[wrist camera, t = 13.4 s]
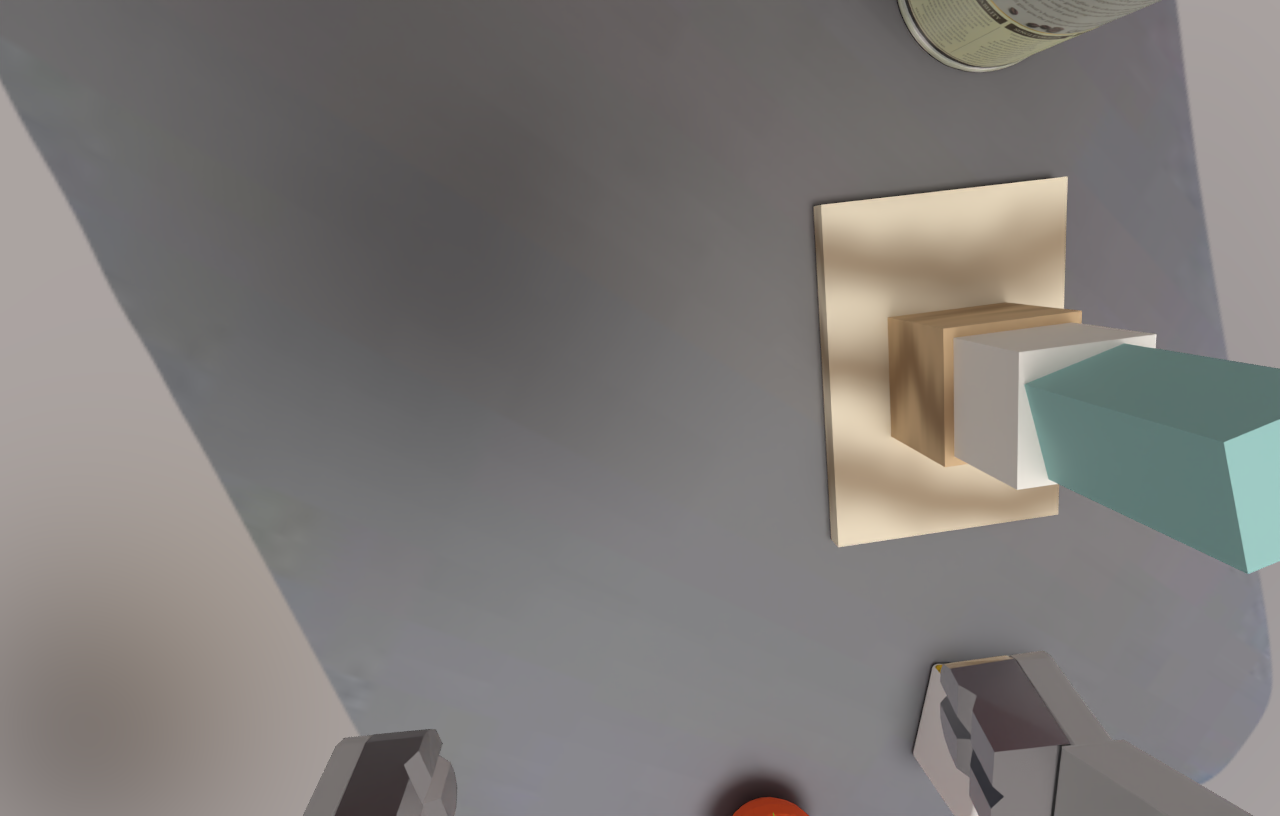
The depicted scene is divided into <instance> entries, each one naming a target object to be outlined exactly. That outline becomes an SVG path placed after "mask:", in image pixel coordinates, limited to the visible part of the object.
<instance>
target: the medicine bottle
mask: <svg viewBox="0 0 1280 816" xmlns="http://www.w3.org/2000/svg"><path fill="white" fill-rule="evenodd" d="M942 665H943V664H935V665H934V666H933V667H932V672H931V676H930V680H929V685H928V689H927V694H926V698H925V702H924V707H923V711H922V716H921V720H920V724H919V729H918V733H917V738H916V742H915V747H914V751H913V754H914V757H915V758H916V760H917V761H918V763H919V764H920V766H921V767H922V769H923V770H924V772H925V773H926V775H927V776H928V778H929V779H930V780H931V782H932V783H933V785H934V786H935V788H936V789H937V791H938V792H939V794H940V795H941V797H942V798H943V800H944V801H945V802H946V804H947V805H948V807H949V808H950V810H951V811H952V813H953V814H954V816H978V813H977V811H976V809H975V807H974V805H973V803H972V801H971V799H970V796H969V781H970V778H969V777H968V776H967V775H965V774H964V773H962V772H961V771H960V770H958V769H957V768H956V766H955V764H954V762H953V759H952V757H951V755H950V753H949V750H948V747H947V744H946V741H945V738H944V734H943V729H942V724H941V719H940V703H941V702H942V700H943V699H944V698H945V697H946V696H947V695H946V693H945V691H944V689H943V687H942V685H941V683H940V670H941V668H942Z"/></svg>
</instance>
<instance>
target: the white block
mask: <svg viewBox="0 0 1280 816" xmlns="http://www.w3.org/2000/svg"><path fill="white" fill-rule="evenodd" d="M1124 343H1125V344H1131V345H1137V346H1143V347H1149V348H1156V334H1152V333H1144V332H1137V331H1130V330H1123V329H1116V328H1108V327H1101V326H1094V325H1087V324H1079V323H1072V322H1071V323H1063V324H1056V325H1048V326H1040V327H1033V328H1025V329H1017V330H1009V331H1002V332H994V333H986V334H979V335H971V336H963V337H955V338H953V350H954V457H956V458H958V459H960V460H962V461H964V462H966V463H968V464H969V465H971V466H973V467H975V468H977V469H979V470H981V471H983V472H984V473H986V474H988V475H990V476H992V477H994V478H996V479H998V480H999V481H1001V482H1003V483H1005V484H1007V485H1009V486H1011V487H1013V488H1015V489H1016V490H1020V489H1027V488H1034V487H1040V486H1047V485H1054V484H1057V483H1055V482H1053V481H1051V480H1049V479H1048V475H1047V471H1046V467H1045V463H1044V460H1043V456H1042V452H1041V448H1040V444H1039V440H1038V436H1037V432H1036V428H1035V425H1034V421H1033V417H1032V413H1031V409H1030V405H1029V401H1028V397H1027V393H1026V390H1025V386H1024V384H1026V383H1029V382H1031V381H1034V380H1036V379H1039V378H1041V377H1043V376H1046V375H1048V374H1051V373H1053V372H1056V371H1058V370H1061V369H1063V368H1065V367H1068V366H1070V365H1073V364H1075V363H1078V362H1080V361H1082V360H1085V359H1087V358H1090V357H1092V356H1095V355H1097V354H1100V353H1102V352H1104V351H1107V350H1109V349H1112V348H1114V347H1117V346H1119V345H1121V344H1124Z"/></svg>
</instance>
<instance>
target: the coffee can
mask: <svg viewBox="0 0 1280 816" xmlns="http://www.w3.org/2000/svg"><path fill="white" fill-rule="evenodd" d="M1159 1H1161V0H898V4H899V8H900V11H901V14H902V16H903V19H904V21H905V23H906V25H907V27H908V29H909V30H910V32H911V33H912V35H913V37H914V38H915V39H916V41H917V42H918V43H919V44H920V45H921V46H922V47H923V48H924V50H926V51H927V52H928V53H929V54H930V55H932V56H933V57H934V58H936V59H937V60H939V61H940V62H942V63H943V64H945V65H947V66H950V67H953V68H957V69H960V70H964V71H970V72H986V71H994V70H999V69H1003V68H1006V67H1009V66H1012V65H1015V64H1017V63H1018V62H1020V61H1022V60H1024V59H1025V58H1027V57H1028V56H1031V55H1033V54H1035V53H1037V52H1040V51H1042V50H1045V49H1047V48H1050V47H1052V46H1054V45H1057V44H1059V43H1061V42H1064V41H1066V40H1069V39H1071V38H1073V37H1076V36H1078V35H1080V34H1083V33H1085V32H1088V31H1090V30H1093V29H1095V28H1097V27H1099V26H1102V25H1104V24H1106V23H1109V22H1111V21H1113V20H1116V19H1118V18H1120V17H1123V16H1125V15H1128V14H1130V13H1132V12H1135V11H1137V10H1140V9H1142V8H1144V7H1147V6H1149V5H1151V4H1154V3H1156V2H1159Z"/></svg>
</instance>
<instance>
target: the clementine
mask: <svg viewBox="0 0 1280 816" xmlns="http://www.w3.org/2000/svg"><path fill="white" fill-rule="evenodd" d="M732 816H809V815H808V814H806V813H805V812H804V811H803V810H802V809H800V808H799V807H798V806H797V805H796V804H794V803H791V802H789V801H787V800H783V799H779V798H773V797H763V798H758V799H754V800H751V801H749V802H747V803H746V804H744V805H742V806H741V807H740V808H739V809H738V810H737V811H736V812H735V813H734V814H733V815H732Z"/></svg>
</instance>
